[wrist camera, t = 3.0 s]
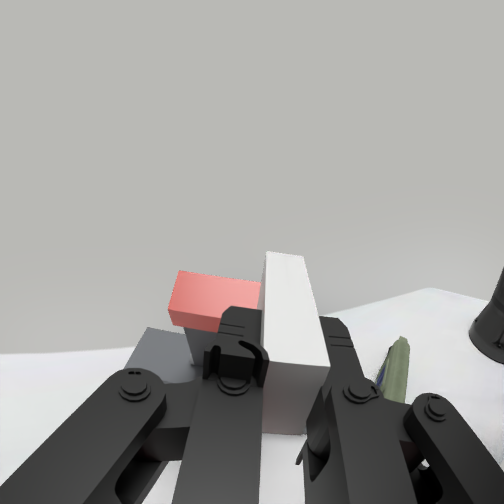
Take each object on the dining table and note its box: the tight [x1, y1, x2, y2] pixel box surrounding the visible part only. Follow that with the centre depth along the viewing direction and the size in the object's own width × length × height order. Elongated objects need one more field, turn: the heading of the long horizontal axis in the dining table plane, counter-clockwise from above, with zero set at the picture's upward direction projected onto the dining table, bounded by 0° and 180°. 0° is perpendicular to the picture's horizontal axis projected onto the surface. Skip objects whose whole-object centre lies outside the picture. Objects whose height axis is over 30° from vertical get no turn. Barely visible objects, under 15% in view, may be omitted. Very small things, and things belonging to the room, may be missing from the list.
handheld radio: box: [375, 336, 410, 403], centre depth 32 cm, size 7×3×25 cm
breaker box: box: [124, 327, 307, 434], centre depth 32 cm, size 20×8×6 cm, turn 87°
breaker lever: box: [168, 271, 261, 367], centre depth 25 cm, size 7×3×14 cm, turn 87°
